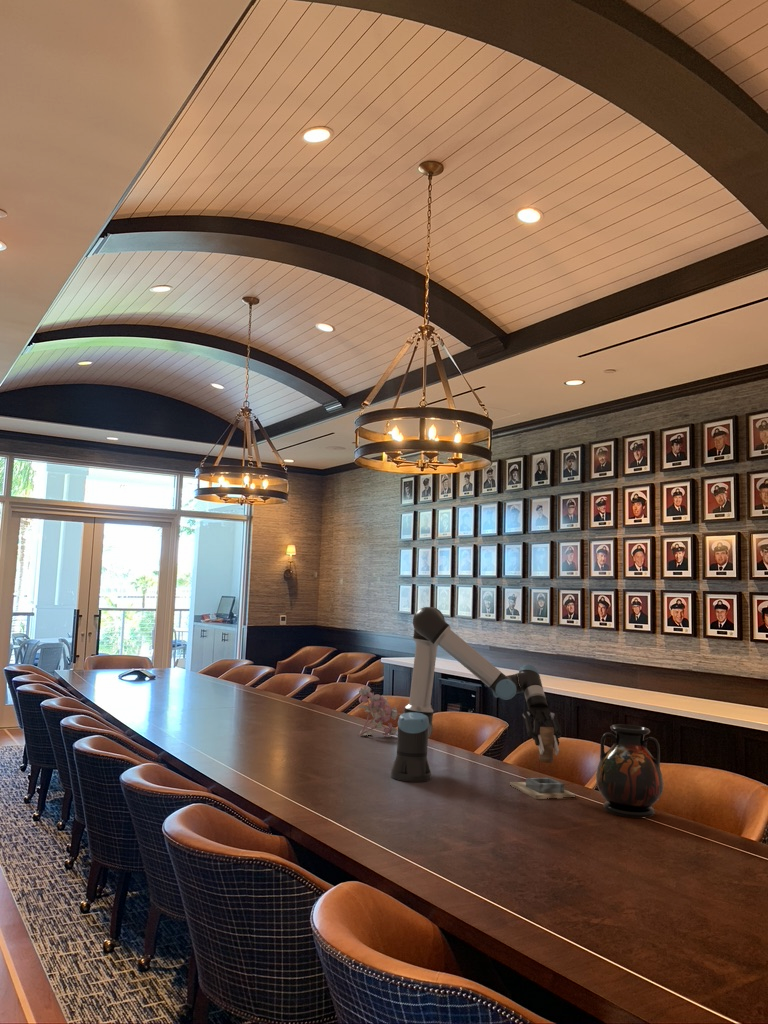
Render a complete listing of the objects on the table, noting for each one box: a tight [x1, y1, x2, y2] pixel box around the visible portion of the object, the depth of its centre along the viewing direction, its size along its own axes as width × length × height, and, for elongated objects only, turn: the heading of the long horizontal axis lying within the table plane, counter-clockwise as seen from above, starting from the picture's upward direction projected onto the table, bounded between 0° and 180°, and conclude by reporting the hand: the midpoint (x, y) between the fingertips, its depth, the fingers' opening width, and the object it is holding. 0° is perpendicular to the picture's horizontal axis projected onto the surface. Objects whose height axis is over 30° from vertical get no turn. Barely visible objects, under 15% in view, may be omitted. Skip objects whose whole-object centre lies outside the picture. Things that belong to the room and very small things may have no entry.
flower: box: [356, 685, 399, 737], centre depth 384 cm, size 20×22×25 cm
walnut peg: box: [538, 726, 555, 764], centre depth 283 cm, size 5×5×12 cm
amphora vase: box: [595, 723, 664, 819], centre depth 261 cm, size 22×22×28 cm
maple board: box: [509, 777, 577, 800], centre depth 284 cm, size 16×20×4 cm
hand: (549, 752), depth 280 cm, fingers closed on walnut peg, 5 cm apart
